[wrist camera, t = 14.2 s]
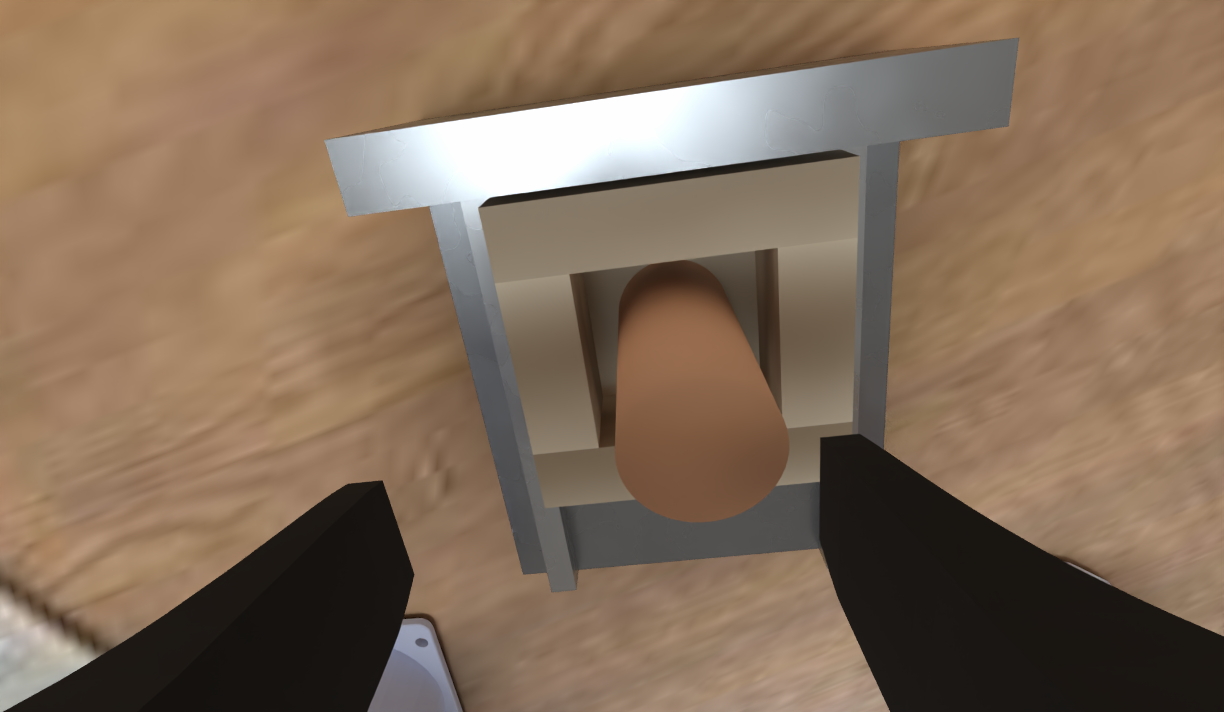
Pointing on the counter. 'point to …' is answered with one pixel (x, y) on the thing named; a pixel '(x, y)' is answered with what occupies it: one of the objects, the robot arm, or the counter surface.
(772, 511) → the slide base
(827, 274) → the sliding block
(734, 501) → the dowel
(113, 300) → the counter surface
